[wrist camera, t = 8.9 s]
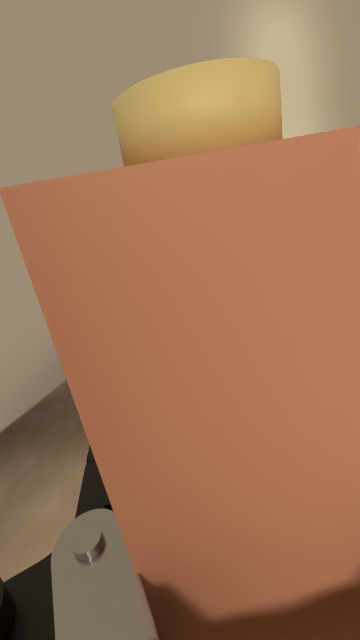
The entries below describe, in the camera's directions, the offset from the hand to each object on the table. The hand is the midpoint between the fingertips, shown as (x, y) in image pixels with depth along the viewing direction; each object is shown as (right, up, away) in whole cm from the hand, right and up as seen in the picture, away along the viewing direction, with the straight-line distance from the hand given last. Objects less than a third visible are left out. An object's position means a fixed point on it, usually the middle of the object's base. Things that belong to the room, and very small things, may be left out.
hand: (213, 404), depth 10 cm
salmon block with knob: (+2, -9, +1) cm, 9 cm away
